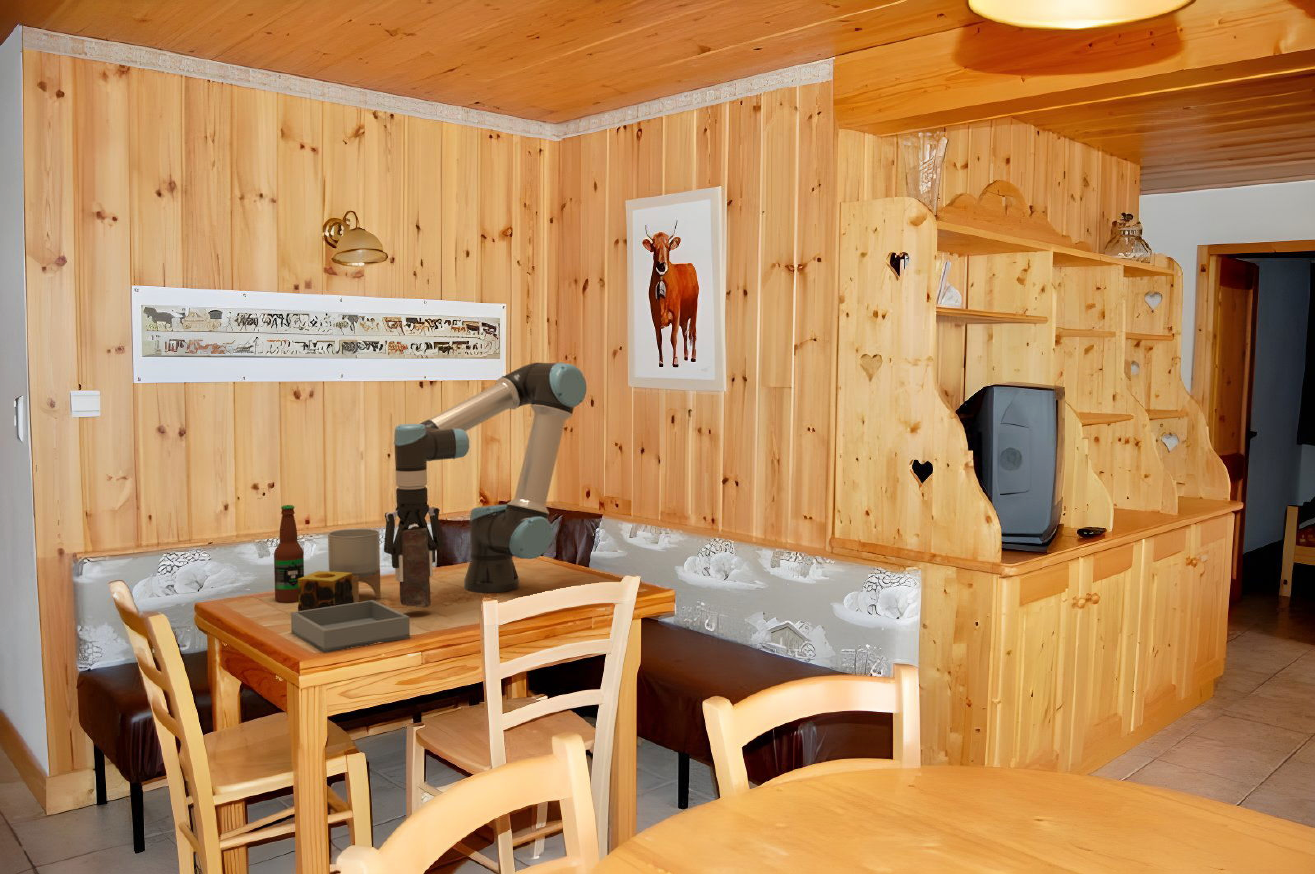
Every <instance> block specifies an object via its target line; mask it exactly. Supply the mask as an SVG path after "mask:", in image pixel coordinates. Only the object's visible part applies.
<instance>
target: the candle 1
mask: <svg viewBox="0 0 1315 874" xmlns="http://www.w3.org/2000/svg"><path fill="white" fill-rule="evenodd" d="M352 578H353V573H349V572H330V571H329V570H328V571H327V570H317V571H315V572H312V573H309V574H307V575H304V577H302V578H299V579H298V585H299V592H298V594H299V602H298V606H297V611H304V610H311V609H317V608H324V607H330V606H337V605H343V604H350V603H354V599H353V598H354V596H353V585H352V583H353V580H352Z"/></svg>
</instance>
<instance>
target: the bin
mask: <svg viewBox="0 0 1315 874" xmlns="http://www.w3.org/2000/svg"><path fill="white" fill-rule="evenodd" d="M410 622H411V621H410V616H408V615H407V614H404V613H403V612H400V611H398V610H396V609H394V608H391V607H389V606H387V605H386V604H385V605H384V604H383V603H380V602H378V601H377V600H375V599H372V600H371V599H370V600H365V601H363V600H362V601H359V602H356V603H350V604H343V605H337V606H330V607H324V608H317V609H311V610H304V611H298V610H297V611H292V612H290V628H291V630H290V631H291V634H293V635H294V636H296V637H298V638H299V639H300V640H303V641H304V642H306V643H308V644H309V645H311V646H312V647H314V648H316V649H317V650H318V651H320V652H322V653H324V654H325V653H332V652H337V650H338V651H343V650H342V649H344V650H348V649H347V648H350V649H352V648H351V647H356V646H362V647H366V646H365V645H368V646H371V645H370V644H374V643H378V642H386V643H390V642H389V641H392V642H396V641H395V640H397V641H402V639H403V640H408V639H411V638H410V637H411V633H410ZM400 639H401V640H400ZM374 645H375V644H374ZM356 648H357V647H356ZM331 651H332V652H331Z"/></svg>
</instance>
